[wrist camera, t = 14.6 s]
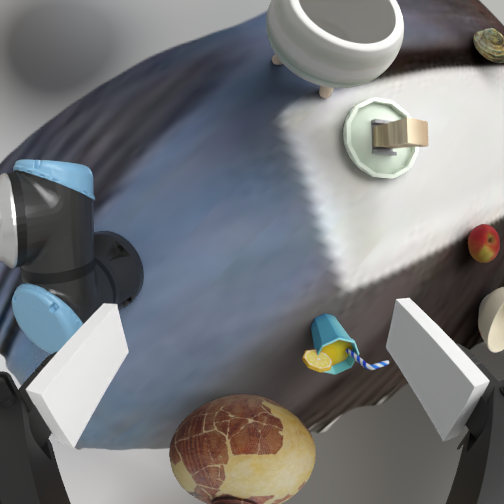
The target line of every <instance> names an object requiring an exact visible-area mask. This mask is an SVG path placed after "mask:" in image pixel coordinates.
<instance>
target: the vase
mask: <svg viewBox="0 0 504 504" xmlns="http://www.w3.org/2000/svg"><path fill="white" fill-rule="evenodd" d="M169 456H170V462H171V466H172V470H173V473H174V475H175V477H176V479H177V480H178V482H179V484H180V485H181V486H182V487H183V488H184V489H185V490H186V491H187V492H188V493H189V494H191V495H192V496H194V497H195V498H197V499H199V500H201V501H203V502H205V503H207V504H281V503H283V502H285V501H287V500H288V499H290V498H291V497H292V496H293V495H295V494H296V493H297V492H298V491H299V490H300V489H301V488H302V487H303V486H304V484H305V483H306V482H307V480H308V479H309V477H310V475H311V473H312V470H313V467H314V463H315V445H314V441H313V438H312V436H311V434H310V432H309V430H308V429H307V427H306V426H305V425H304V424H303V423H302V421H300V420H299V419H298V418H297V417H296V416H295V415H294V414H293V413H291V412H290V411H289V410H287V409H286V408H284V407H283V406H281V405H279V404H278V403H276V402H274V401H273V400H270V399H268V398H265V397H261V396H257V395H250V394H234V395H227V396H223V397H220V398H217V399H214V400H212V401H210V402H208V403H206V404H204V405H202V406H201V407H199V408H197V409H196V410H195V411H193V412H192V413H191V414H190V415H189V416H187V417H186V418H185V419H184V420H183V421H182V423H181V424H180V425H179V427H178V428H177V430H176V432H175V433H174V436H173V438H172V441H171V444H170V452H169Z"/></svg>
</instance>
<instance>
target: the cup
mask: <svg viewBox="0 0 504 504" xmlns="http://www.w3.org/2000/svg"><path fill="white" fill-rule="evenodd" d="M311 331H312V337H313V343H314V349H313V350H306V351H305V354H304V356H303V358H302V360H303V362H304V363H305V364H306V366H307V367H308V368H310V369H312V370H315V371H318V372H325V373H330V374H337V373H340V372H342V371H344V370H346V369H349V368H351V367H352V365H353V364H354V362H355V360H356V361H357V362H358V363H359V364H361V365H362V366H363V367H364V368H366V369H369V370H374V369H377V368H380V367H383V366H386V365H388V364H389V361H388V360H385V361H382V362H379V363H376V364H373V365H370V364H367V363H366V362H365V361H364V360H363V359H361V358H360V357H359V356H358V355H359V352H358V349H357V346H356V343H355V341H354V340H353V339H352V338H350V337H349V336H348V334H347V333H346V332H345V330H344V329H343V327H342V326H341V325H340V323H339V322H338V321H337V319H336V318H335V316H332V315H329V314H322V315H320V316H318V317H316V318H315V319H314V321H313V323H312V325H311Z"/></svg>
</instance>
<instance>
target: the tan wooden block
mask: <svg viewBox="0 0 504 504" xmlns="http://www.w3.org/2000/svg"><path fill="white" fill-rule="evenodd" d="M373 144H374V147H379V148H388V149H395V148H408V147H423V146H428V124H427V121H422V120H417V119H412V118H403V119H400V120H396V121H392V122H389V123H385V124H382V125H378V126H375V127H373Z"/></svg>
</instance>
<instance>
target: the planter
mask: <svg viewBox="0 0 504 504" xmlns="http://www.w3.org/2000/svg"><path fill="white" fill-rule="evenodd" d="M266 29H267V36H268V39H269V42H270V45H271V47H272V49H273V51H274V53H275V54H274V56H273V57H272V62H273V63H274V64H276V65H281V64H284V65H285V66H286V67H287V68H288V69H289V70H290V71H291V72H293V73H294V74H296V75H297V76H299V77H301V78H302V79H304V80H306V81H309V82H311V83H314V84H317V85H320V88H319V94H320V96H321V97H323V98H329V97H330V96H331V94H332V92H333V89H334V88H349V87H355V86H359V85H362V84H365V83H367V82H369V81H371V80H373V79H375V78H376V77H378V76H379V75H381V74H382V73H383V72H384V71H385V70H386V69H387V68H388V67H389V66H390V65H391V63H392V62H393V61H394V59H395V58H396V56H397V54H398V52H399V50H400V47H401V44H402V40H403V34H404V22H403V17H402V13H401V10H400V8H399V6H398V4H397V2H396V0H271V3H270V5H269V8H268V12H267V18H266Z"/></svg>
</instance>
